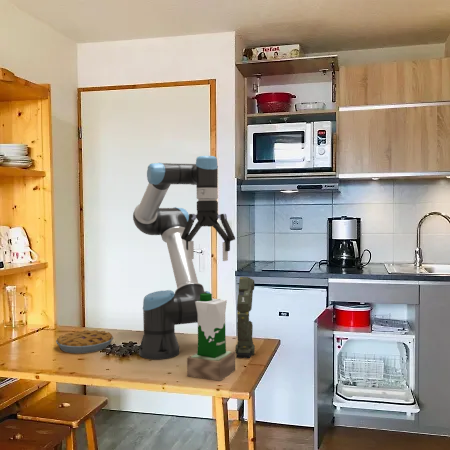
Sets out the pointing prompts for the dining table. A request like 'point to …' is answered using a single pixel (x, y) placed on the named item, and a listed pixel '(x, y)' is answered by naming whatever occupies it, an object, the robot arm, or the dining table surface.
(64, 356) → the dining table surface
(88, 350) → the pie
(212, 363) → the step block
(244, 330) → the mechanical leg
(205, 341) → the soya milk
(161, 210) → the robot arm
